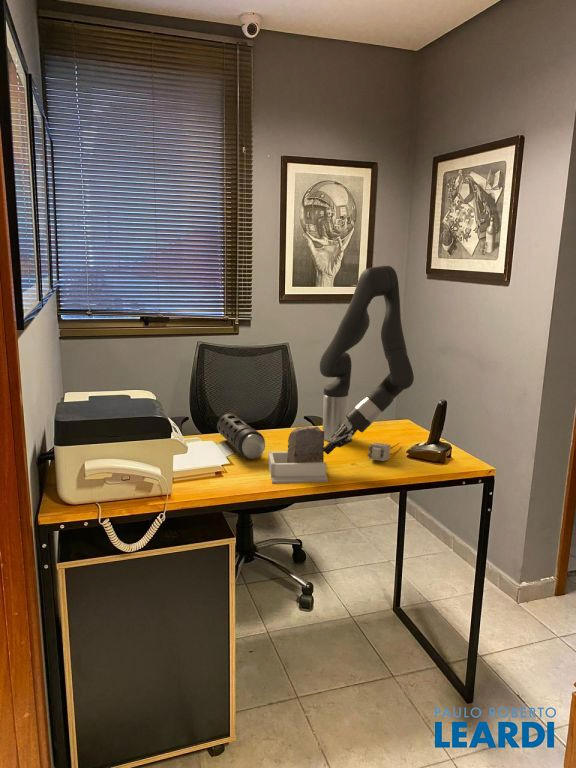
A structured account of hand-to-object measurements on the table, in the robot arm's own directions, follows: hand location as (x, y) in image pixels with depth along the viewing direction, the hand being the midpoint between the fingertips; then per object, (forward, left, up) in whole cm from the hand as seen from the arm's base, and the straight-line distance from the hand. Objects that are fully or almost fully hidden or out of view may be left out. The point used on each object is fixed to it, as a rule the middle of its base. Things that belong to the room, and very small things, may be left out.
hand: (325, 452), depth 183 cm
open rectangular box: (+2, -9, -6) cm, 11 cm away
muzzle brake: (-22, -26, -7) cm, 35 cm away
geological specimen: (0, -6, -6) cm, 9 cm away
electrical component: (-16, +25, -7) cm, 30 cm away
